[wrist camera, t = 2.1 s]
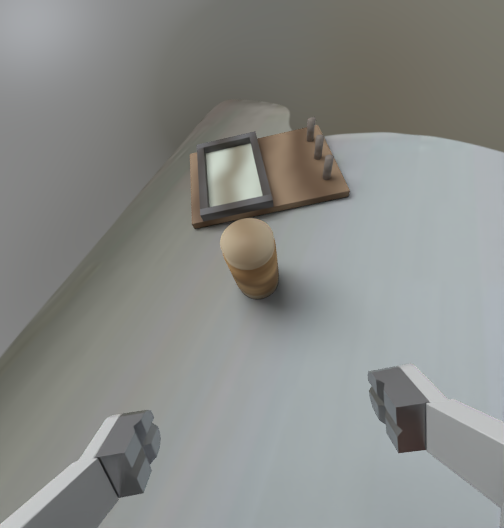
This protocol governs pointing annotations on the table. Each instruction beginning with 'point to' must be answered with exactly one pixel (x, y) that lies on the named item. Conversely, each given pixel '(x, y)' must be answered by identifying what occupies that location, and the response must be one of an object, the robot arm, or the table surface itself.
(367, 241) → the table surface
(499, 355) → the table surface
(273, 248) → the tan domed cylinder
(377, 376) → the robot arm
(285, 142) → the wooden key rack
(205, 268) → the table surface
